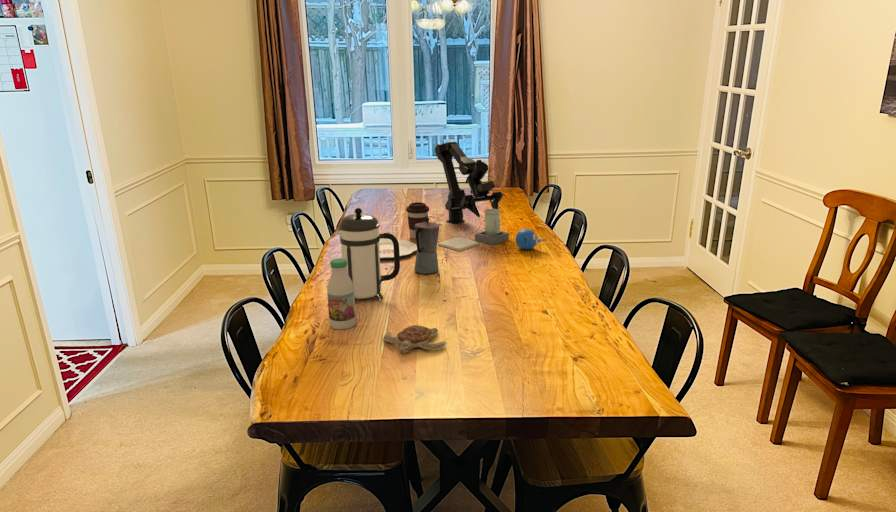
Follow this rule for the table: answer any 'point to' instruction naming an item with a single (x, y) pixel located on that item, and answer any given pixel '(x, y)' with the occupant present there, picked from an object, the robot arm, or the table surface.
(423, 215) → the coffee cup
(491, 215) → the grey domed cup
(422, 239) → the moka pot
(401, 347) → the decorative turtle
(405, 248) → the plate
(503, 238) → the holder
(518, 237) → the blue mole toy
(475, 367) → the table surface
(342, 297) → the milk bottle
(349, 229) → the coffee press
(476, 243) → the plate
